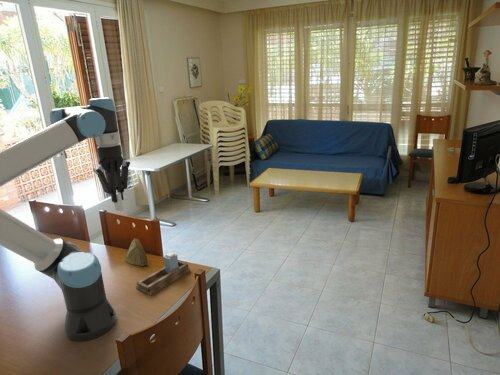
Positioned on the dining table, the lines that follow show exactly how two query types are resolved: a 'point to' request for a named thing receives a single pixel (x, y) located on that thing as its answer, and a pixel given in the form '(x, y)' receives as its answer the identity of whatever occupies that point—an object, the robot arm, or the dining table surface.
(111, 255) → the dining table surface
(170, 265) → the rider
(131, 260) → the rock
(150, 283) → the wooden tray
